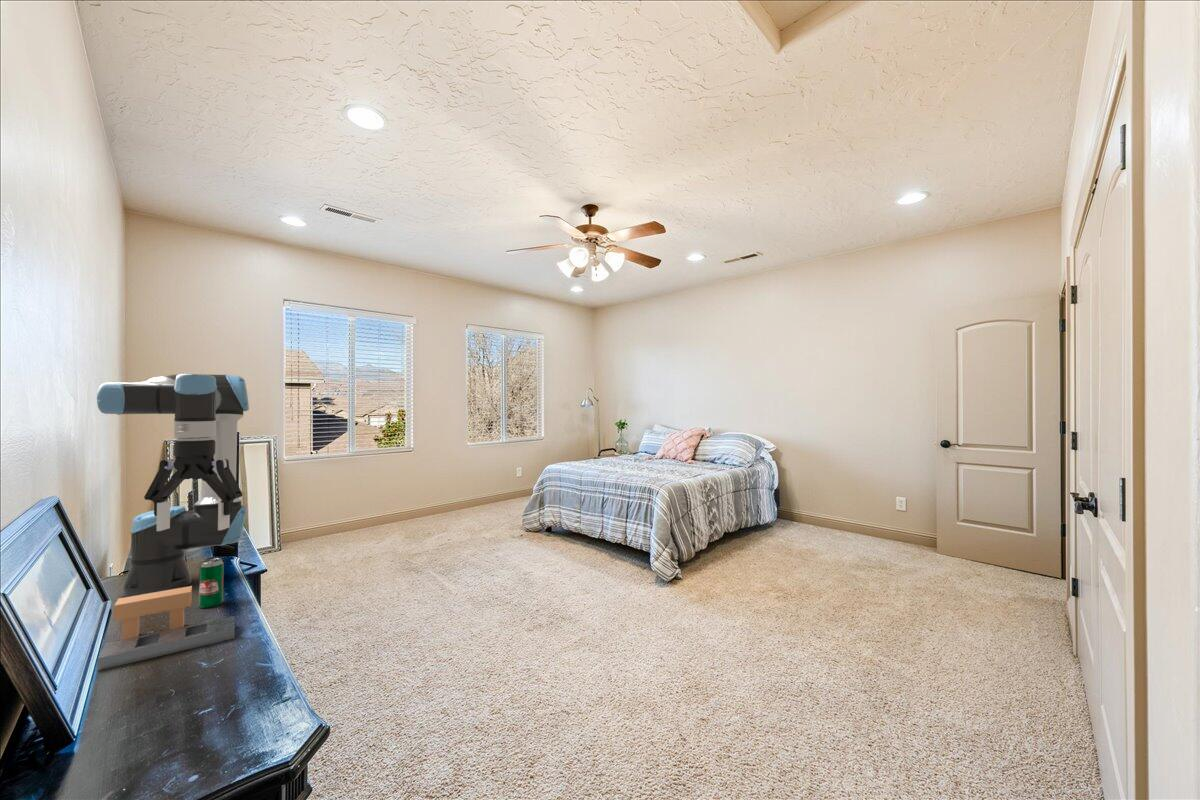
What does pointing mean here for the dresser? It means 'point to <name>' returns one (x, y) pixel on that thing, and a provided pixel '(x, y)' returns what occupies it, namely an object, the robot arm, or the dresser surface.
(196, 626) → the rail
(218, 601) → the soda can
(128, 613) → the wooden arch block
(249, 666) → the dresser surface
